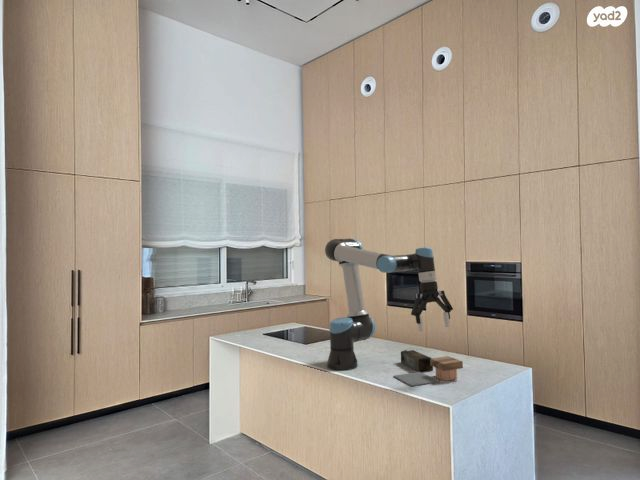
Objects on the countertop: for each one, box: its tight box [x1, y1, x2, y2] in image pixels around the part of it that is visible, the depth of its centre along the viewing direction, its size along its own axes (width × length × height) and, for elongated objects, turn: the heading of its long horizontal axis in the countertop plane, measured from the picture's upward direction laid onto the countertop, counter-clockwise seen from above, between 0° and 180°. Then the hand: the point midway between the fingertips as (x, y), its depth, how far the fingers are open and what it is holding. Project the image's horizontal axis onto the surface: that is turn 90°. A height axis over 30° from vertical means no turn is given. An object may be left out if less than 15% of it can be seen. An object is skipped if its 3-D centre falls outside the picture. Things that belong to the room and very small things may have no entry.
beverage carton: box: [400, 349, 434, 373], centre depth 209 cm, size 8×19×7 cm, turn 16°
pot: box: [435, 367, 458, 381], centre depth 190 cm, size 9×9×5 cm
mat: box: [393, 371, 440, 388], centre depth 188 cm, size 15×14×1 cm
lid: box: [430, 355, 464, 371], centre depth 191 cm, size 10×10×3 cm
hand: (434, 329), depth 190 cm, fingers open, 13 cm apart
